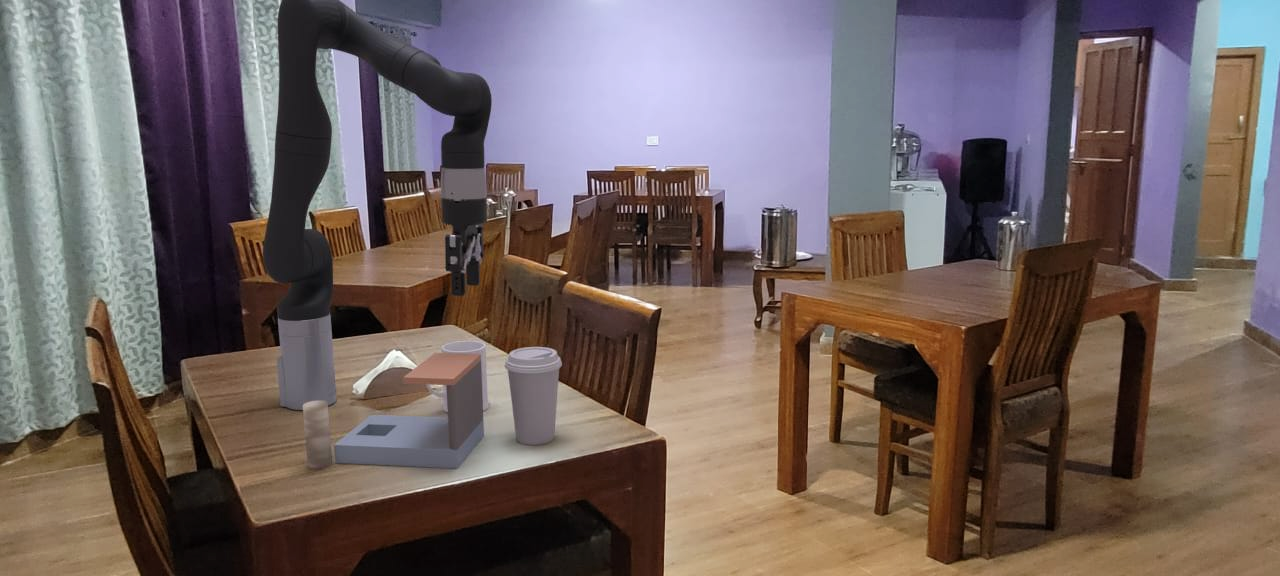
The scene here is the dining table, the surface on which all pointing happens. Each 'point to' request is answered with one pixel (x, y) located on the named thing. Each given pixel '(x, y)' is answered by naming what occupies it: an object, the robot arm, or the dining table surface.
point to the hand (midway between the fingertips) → (466, 290)
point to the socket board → (425, 421)
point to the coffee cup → (534, 393)
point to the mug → (466, 348)
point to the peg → (317, 434)
